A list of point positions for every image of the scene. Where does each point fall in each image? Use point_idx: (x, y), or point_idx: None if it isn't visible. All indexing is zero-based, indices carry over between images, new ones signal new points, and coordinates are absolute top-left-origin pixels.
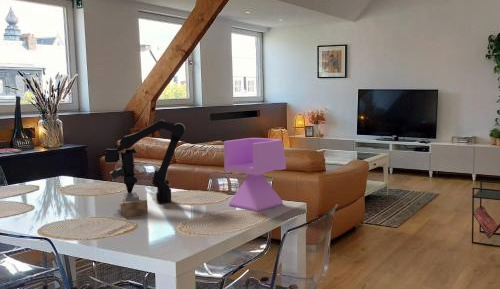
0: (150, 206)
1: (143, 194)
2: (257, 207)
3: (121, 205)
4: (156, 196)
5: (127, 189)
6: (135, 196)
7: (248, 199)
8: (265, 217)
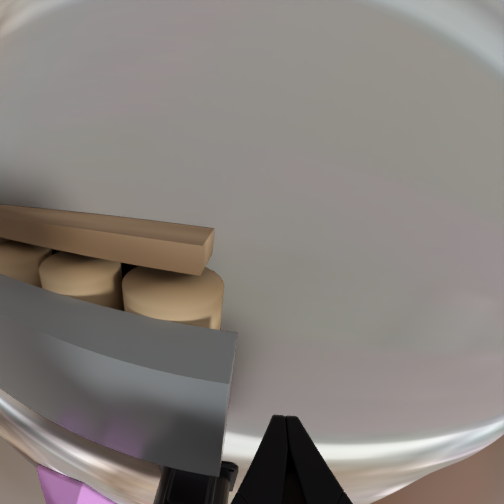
0: None
1: (460, 422)
2: (37, 470)
3: (14, 222)
4: (190, 485)
5: (243, 481)
6: (10, 384)
7: (51, 488)
8: (7, 441)
